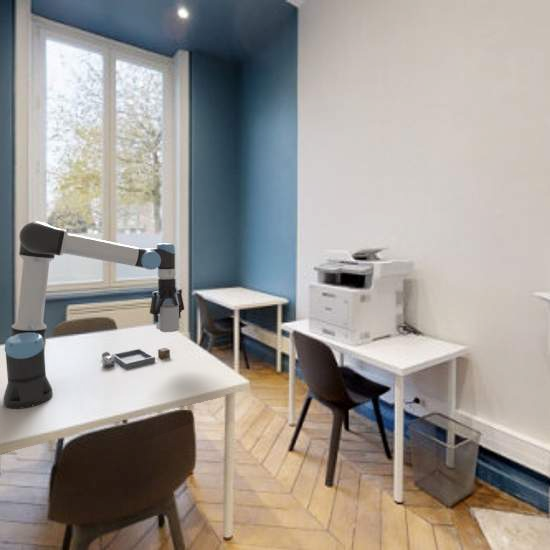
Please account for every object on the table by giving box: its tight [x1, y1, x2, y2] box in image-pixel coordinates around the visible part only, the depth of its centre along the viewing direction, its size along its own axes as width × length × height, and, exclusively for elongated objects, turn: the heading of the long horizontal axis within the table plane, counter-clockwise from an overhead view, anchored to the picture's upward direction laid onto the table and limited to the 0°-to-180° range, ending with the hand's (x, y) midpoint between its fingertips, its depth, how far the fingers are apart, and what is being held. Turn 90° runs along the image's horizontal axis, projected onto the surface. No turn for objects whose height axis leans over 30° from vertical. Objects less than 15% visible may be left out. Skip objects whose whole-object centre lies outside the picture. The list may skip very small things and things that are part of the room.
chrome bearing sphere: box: [101, 354, 115, 369], centre depth 177 cm, size 5×5×4 cm
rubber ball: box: [101, 351, 111, 358], centre depth 185 cm, size 4×4×4 cm
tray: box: [111, 348, 156, 370], centre depth 183 cm, size 14×17×2 cm
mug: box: [159, 303, 180, 333], centre depth 178 cm, size 12×8×11 cm
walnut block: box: [157, 347, 171, 360], centre depth 188 cm, size 4×4×4 cm
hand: (167, 327), depth 178 cm, fingers closed on mug, 8 cm apart
